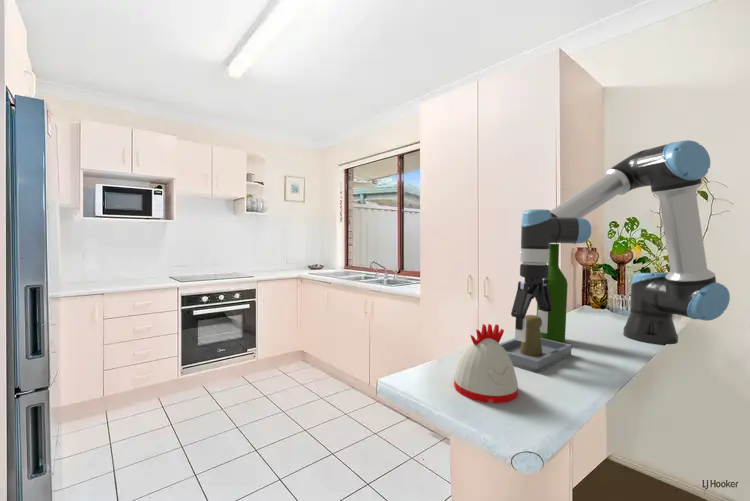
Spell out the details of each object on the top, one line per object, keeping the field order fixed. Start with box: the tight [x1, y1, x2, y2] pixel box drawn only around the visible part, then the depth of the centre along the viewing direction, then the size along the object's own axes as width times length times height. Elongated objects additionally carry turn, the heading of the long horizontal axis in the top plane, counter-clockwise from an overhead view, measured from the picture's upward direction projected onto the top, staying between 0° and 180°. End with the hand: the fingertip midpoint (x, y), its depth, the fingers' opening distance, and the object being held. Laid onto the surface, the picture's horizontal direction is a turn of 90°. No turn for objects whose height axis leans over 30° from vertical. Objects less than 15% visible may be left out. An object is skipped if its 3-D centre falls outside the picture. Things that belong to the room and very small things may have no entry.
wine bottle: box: [536, 243, 568, 343], centre depth 120 cm, size 9×9×32 cm
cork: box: [520, 314, 542, 357], centre depth 104 cm, size 6×6×11 cm
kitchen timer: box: [453, 323, 519, 404], centre depth 81 cm, size 14×14×15 cm
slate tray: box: [499, 337, 573, 374], centre depth 104 cm, size 22×14×3 cm, turn 131°
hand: (531, 336), depth 104 cm, fingers open, 13 cm apart
